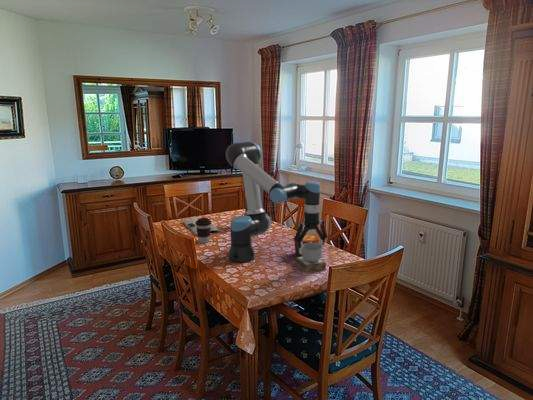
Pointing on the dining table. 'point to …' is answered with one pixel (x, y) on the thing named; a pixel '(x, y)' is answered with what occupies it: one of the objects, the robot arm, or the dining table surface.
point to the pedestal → (310, 265)
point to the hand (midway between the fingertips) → (310, 252)
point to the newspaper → (193, 227)
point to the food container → (305, 240)
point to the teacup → (312, 252)
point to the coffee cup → (203, 230)
